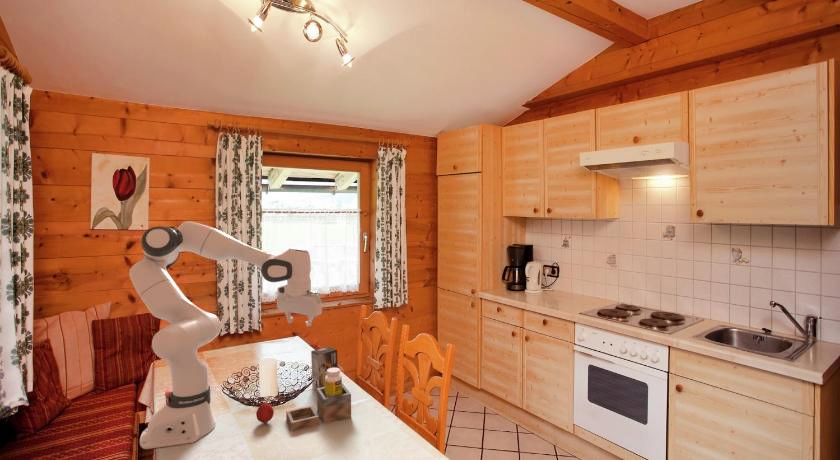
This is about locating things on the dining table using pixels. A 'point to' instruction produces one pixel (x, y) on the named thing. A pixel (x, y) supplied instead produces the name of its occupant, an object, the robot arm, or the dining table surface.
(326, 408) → the stepped holder
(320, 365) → the coffee box
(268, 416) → the onion
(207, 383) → the robot arm
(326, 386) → the pill bottle
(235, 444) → the dining table surface
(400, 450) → the dining table surface
